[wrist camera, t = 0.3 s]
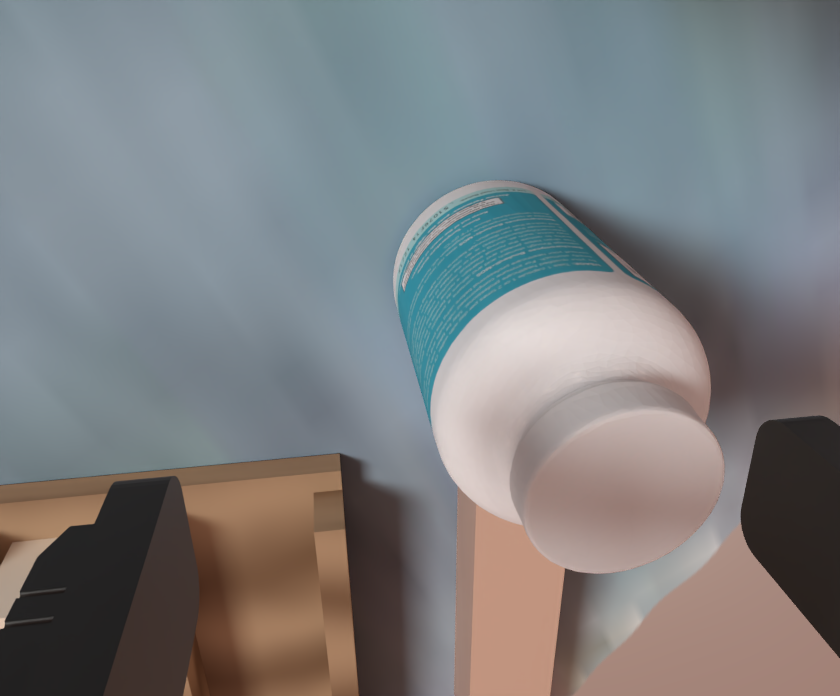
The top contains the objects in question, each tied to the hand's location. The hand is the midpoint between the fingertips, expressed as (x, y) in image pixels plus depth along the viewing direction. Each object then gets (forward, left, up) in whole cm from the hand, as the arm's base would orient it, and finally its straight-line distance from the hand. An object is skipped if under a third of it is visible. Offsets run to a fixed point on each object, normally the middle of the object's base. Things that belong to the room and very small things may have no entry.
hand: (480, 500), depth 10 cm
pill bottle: (+4, +4, -18) cm, 18 cm away
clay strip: (+20, +5, -18) cm, 27 cm away
